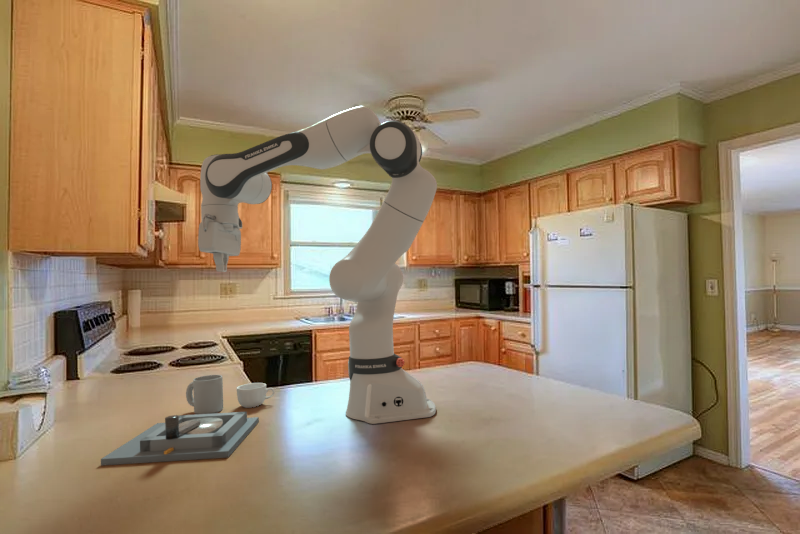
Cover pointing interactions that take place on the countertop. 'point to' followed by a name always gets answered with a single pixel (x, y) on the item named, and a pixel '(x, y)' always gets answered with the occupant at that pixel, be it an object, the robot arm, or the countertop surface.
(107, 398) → the countertop surface
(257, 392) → the teacup
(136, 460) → the panel
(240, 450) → the countertop surface
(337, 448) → the countertop surface
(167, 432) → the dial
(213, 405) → the cup
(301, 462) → the countertop surface
